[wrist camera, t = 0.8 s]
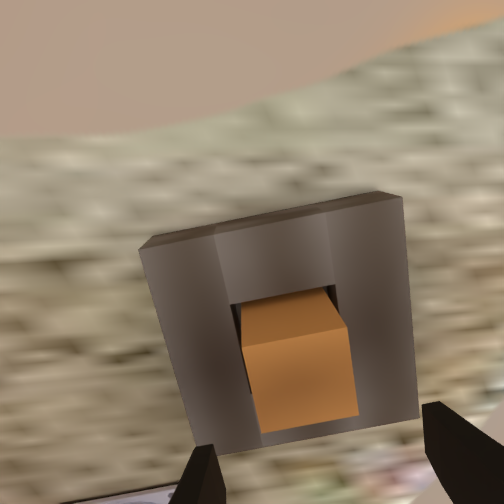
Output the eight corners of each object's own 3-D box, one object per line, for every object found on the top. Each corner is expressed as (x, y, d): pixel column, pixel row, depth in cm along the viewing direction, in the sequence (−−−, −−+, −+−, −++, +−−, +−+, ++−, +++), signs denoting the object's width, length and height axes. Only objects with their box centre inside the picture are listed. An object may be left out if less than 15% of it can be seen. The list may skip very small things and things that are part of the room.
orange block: (255, 359, 22) (261, 433, 16) (241, 293, 20) (241, 347, 15) (327, 345, 22) (359, 415, 16) (316, 278, 20) (347, 327, 15)
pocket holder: (205, 421, 23) (200, 459, 20) (152, 236, 20) (137, 250, 17) (397, 385, 23) (419, 418, 20) (378, 190, 20) (402, 196, 17)
